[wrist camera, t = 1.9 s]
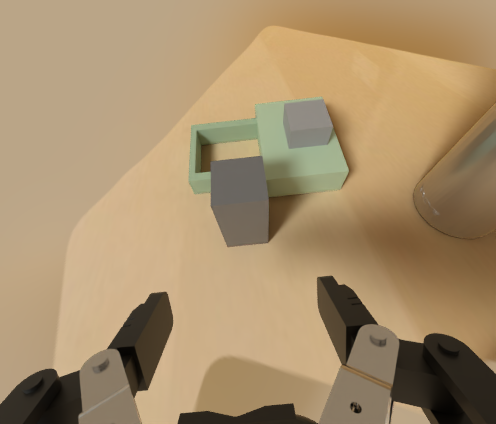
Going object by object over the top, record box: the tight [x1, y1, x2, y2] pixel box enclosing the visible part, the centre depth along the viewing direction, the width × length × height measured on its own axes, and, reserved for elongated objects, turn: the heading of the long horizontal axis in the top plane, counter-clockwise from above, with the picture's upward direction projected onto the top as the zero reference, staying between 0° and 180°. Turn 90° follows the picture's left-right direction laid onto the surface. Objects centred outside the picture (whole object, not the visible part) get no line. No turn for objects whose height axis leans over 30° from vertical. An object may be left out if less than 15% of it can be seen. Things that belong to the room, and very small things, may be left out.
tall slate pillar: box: [211, 156, 269, 247], centre depth 26 cm, size 5×5×10 cm
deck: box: [189, 97, 349, 197], centre depth 32 cm, size 20×14×7 cm
